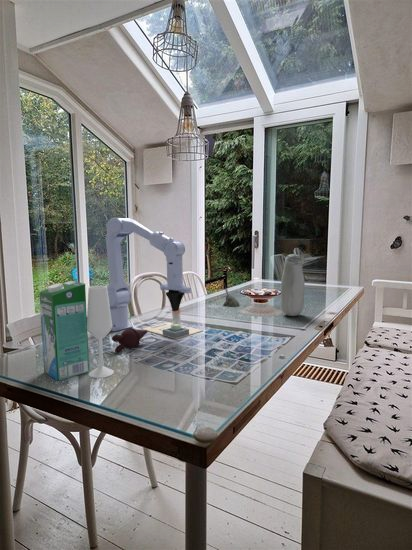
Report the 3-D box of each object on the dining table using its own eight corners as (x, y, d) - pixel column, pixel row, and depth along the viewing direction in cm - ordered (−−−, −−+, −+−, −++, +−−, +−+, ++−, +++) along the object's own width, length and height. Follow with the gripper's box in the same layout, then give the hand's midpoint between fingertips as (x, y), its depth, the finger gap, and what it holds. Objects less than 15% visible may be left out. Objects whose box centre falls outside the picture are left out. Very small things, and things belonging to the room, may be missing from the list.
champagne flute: (118, 372, 104) (115, 286, 101) (97, 379, 99) (93, 289, 96) (105, 366, 109) (101, 284, 106) (84, 373, 104) (79, 287, 101)
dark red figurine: (137, 322, 135) (104, 335, 123) (151, 320, 130) (118, 333, 118) (142, 341, 135) (109, 356, 123) (157, 339, 130) (124, 354, 119)
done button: (175, 333, 139) (175, 326, 138) (169, 331, 141) (168, 325, 141) (182, 331, 141) (182, 324, 141) (176, 330, 144) (176, 323, 143)
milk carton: (43, 372, 105) (38, 283, 102) (74, 363, 111) (70, 280, 108) (57, 381, 99) (52, 286, 96) (89, 371, 105) (85, 282, 102)
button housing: (175, 337, 136) (175, 333, 136) (162, 334, 141) (162, 329, 141) (189, 333, 141) (189, 329, 141) (176, 330, 146) (176, 326, 146)
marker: (176, 328, 149) (175, 310, 148) (171, 327, 151) (170, 309, 150) (182, 326, 151) (181, 308, 150) (177, 325, 153) (176, 307, 152)
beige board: (176, 338, 136) (176, 337, 136) (141, 329, 149) (141, 328, 149) (202, 331, 146) (202, 330, 146) (168, 322, 160) (168, 322, 160)
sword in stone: (243, 305, 197) (243, 282, 195) (237, 308, 190) (236, 285, 189) (226, 303, 202) (226, 281, 200) (219, 306, 196) (218, 283, 194)
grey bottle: (304, 318, 166) (306, 254, 162) (281, 317, 167) (282, 254, 164) (302, 313, 175) (304, 253, 172) (280, 312, 177) (281, 253, 174)
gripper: (196, 274, 137) (197, 311, 138) (169, 272, 146) (170, 306, 148) (182, 276, 131) (183, 314, 133) (155, 273, 141) (156, 309, 143)
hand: (175, 310), depth 140 cm, fingers closed
